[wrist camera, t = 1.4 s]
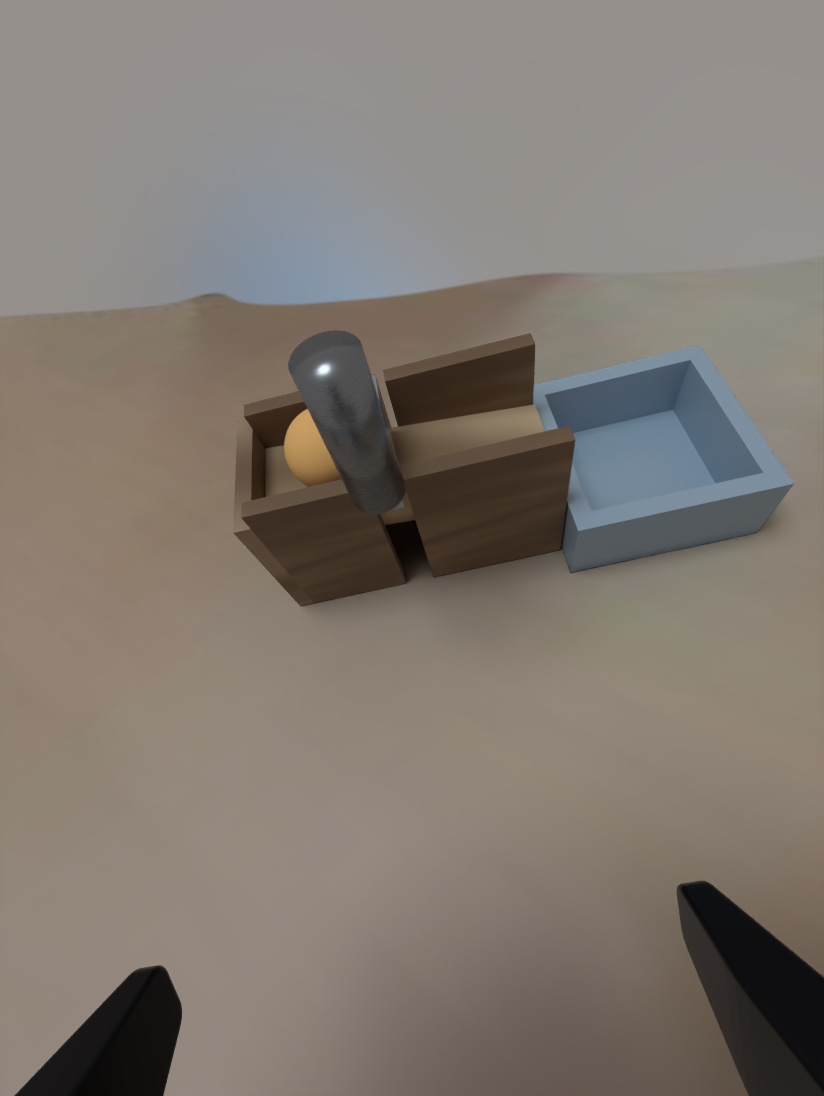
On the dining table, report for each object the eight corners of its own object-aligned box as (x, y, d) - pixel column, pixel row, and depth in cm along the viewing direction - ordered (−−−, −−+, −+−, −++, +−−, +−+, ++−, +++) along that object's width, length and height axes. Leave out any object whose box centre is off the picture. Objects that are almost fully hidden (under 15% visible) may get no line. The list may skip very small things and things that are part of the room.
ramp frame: (561, 549, 25) (577, 439, 18) (300, 606, 26) (223, 521, 19) (528, 456, 28) (532, 332, 21) (296, 510, 29) (228, 408, 22)
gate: (428, 565, 20) (366, 373, 12) (382, 576, 20) (289, 392, 12) (401, 423, 23) (340, 204, 15) (363, 432, 24) (283, 220, 16)
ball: (346, 520, 21) (327, 466, 18) (281, 489, 23) (253, 433, 20) (392, 462, 23) (380, 402, 20) (328, 435, 24) (309, 375, 21)
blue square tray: (756, 532, 24) (794, 483, 21) (570, 572, 24) (578, 530, 21) (679, 402, 28) (700, 344, 25) (523, 438, 29) (523, 387, 26)
